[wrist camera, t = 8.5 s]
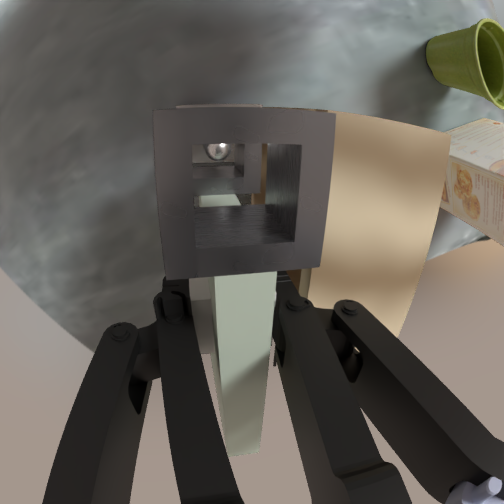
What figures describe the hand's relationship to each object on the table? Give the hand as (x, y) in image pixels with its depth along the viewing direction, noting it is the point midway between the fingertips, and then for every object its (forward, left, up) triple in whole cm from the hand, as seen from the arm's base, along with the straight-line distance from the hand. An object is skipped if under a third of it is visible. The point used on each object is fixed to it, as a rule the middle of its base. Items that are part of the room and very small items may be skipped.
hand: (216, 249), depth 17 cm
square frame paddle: (0, 0, -1) cm, 1 cm away
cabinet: (0, +5, -10) cm, 11 cm away
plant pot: (-17, +26, -10) cm, 32 cm away
